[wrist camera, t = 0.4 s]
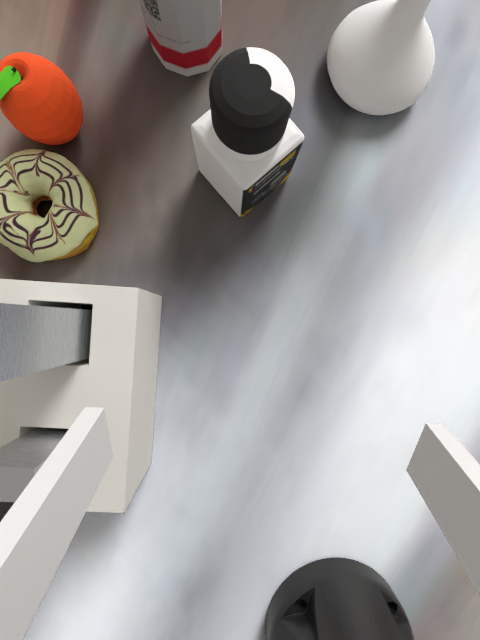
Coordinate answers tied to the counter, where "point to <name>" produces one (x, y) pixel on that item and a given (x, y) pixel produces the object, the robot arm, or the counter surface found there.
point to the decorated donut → (63, 217)
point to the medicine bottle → (248, 128)
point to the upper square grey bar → (41, 338)
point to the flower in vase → (382, 56)
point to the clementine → (39, 99)
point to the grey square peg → (25, 459)
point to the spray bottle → (185, 33)
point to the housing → (94, 379)
